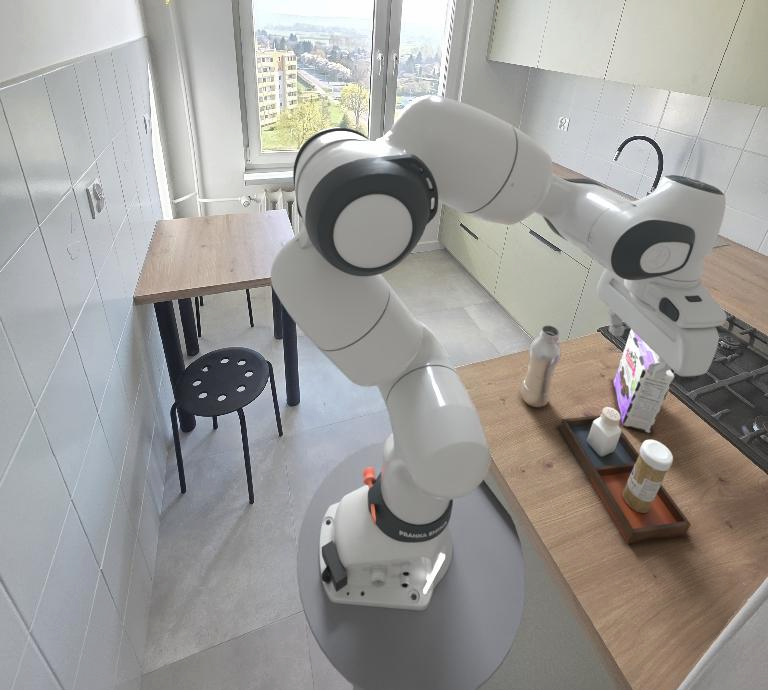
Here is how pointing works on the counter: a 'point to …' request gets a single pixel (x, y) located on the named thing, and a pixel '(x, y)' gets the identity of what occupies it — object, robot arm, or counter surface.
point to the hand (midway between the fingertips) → (633, 353)
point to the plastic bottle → (541, 367)
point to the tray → (623, 486)
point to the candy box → (639, 385)
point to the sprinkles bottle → (647, 475)
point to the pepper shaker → (605, 432)
